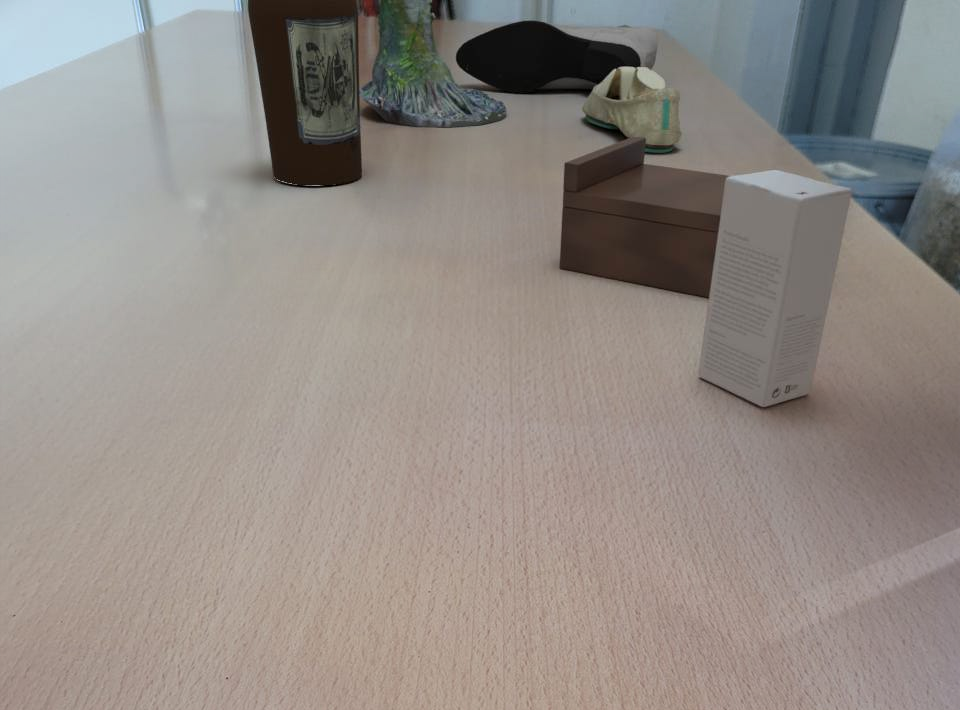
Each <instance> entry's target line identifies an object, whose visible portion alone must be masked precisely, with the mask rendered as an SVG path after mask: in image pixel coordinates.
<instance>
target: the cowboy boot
mask: <svg viewBox="0 0 960 710" xmlns="http://www.w3.org/2000/svg"><path fill="white" fill-rule="evenodd" d="M658 41H659V40H658V36H657V33H656V32H655V29H653V28H651V27H650V26H645V25H644V26H643V25H642V26H634V27H632V26H630V25H628V24H623V25H619V26H618V25H617V26H594V27H585V28H580V29H579V28H578V29H573V28H566V27H562V26H556V25H552V24H550V23H548V22H545V21H539V20H533V19H532V20H520V21H517V22H516V21H515V22H512V23H508V24H505V25H502V26H499V27H496V28H493V29H489V30H488V31H485V32H484V33H481V34H479V35H476V36H474V37H473V38H470V39H468V40H466V41H465V42H464V43H462V45H460V47H458V50H457V51H456V54H455V62H456V64H457V66H458V67H459V68H460V69H461V70H462V71H463V72H464V73H466V74H468V75H469V76H471V77H472V78H474V79H476V80H477V81H480V82H482V83H483V84H486V85H488V86H490V87H492V88H494V89H497V90H499V91H503V92H505V93H511V94H518V95H519V94H528V93H531V92H534V91H536V90H542V89H544V90H545V89H547V90H548V89H559V90H560V89H561V90H570V89H571V90H572V89H575V90H593V88H594V87H595V86H596V85H598V84H600V83H601V82H602V81H603V80H604V79H605V78H606V77H607V76H608V75H609V74H610V73H611V72H612V71H613V70H614V69H618V68H619V67H635V68H637V67H646V68H648V69H650V70H652V69H653V67H654V66H655V64H656V59H657V52H658V43H659V42H658Z"/></svg>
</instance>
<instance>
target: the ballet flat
mask: <svg viewBox="0 0 960 710" xmlns="http://www.w3.org/2000/svg"><path fill="white" fill-rule="evenodd" d="M666 86H667V85H666V81H665V79H664V78H663V77H662V76H661V75H660V74H659V73H657V72H656V71H653V70H652V69H651V70H650V69H648V68H646V67H637V68H635V67H619V68H618V69H614V70H613V71H612V72H611V73H610V74H609V75H608V76H607V77H606V78H605V79H604V80H603V81H602V82H601V83H600V84H598V85H596V86H595V87H594V88H593V89H591V92H590V94H589V95H588V97H587V98H586V99H585V101H584V103H583V104H582V106H581V110H582V113H584V114H585V120H586V121H587V122H589V123H591V124H593V125H596V126H598V127H601V128H605V129H609V130H620V132H621V133H622V134H623V135H624V136H625V137H626V139H629V138H631V137H634V136H635V137H642V138H646V145H645V153H651V154H664V153H669V152H671V151H673V149H674V145H675V144H677V143H679V141H680V140H681V137H682V135H683V133H682V130H681V122H680V116H679V109H680V108H679V107H680V99H681V96H680V95H681V93H680V91H679V90H678V89H677V88H674V87H666ZM646 88H648V89H646Z"/></svg>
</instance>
